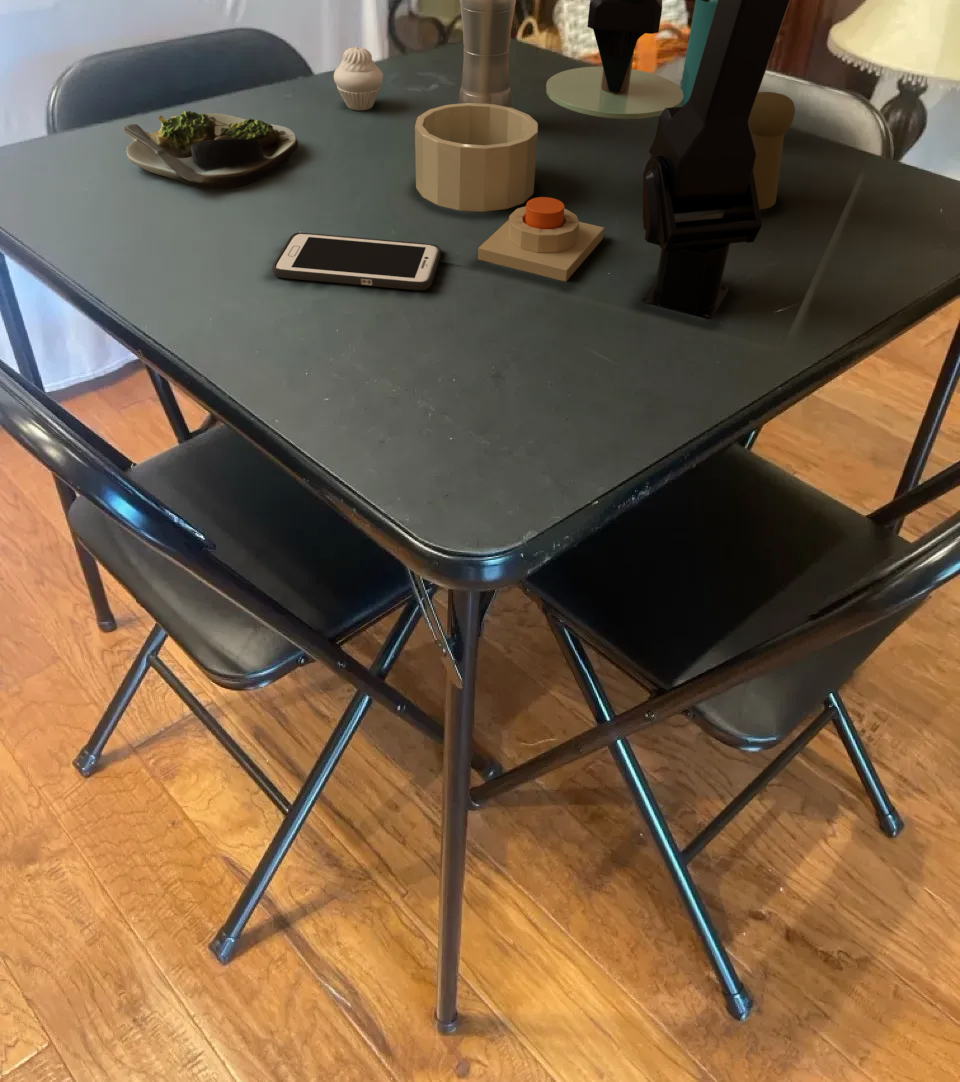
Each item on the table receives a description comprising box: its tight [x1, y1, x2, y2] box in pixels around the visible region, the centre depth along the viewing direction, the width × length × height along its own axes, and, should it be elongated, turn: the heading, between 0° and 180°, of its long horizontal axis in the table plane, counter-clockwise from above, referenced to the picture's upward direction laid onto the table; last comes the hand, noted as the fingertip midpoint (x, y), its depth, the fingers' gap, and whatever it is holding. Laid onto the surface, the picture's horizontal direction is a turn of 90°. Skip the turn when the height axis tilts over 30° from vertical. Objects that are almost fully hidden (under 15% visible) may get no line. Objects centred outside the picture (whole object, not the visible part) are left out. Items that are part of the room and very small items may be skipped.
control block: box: [477, 205, 605, 282], centre depth 88 cm, size 10×9×4 cm
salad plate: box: [123, 110, 299, 190], centre depth 102 cm, size 19×18×5 cm
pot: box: [414, 103, 539, 213], centre depth 97 cm, size 13×13×7 cm
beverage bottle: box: [679, 0, 718, 107], centre depth 106 cm, size 6×7×20 cm
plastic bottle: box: [457, 0, 517, 108], centre depth 106 cm, size 6×7×20 cm
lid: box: [545, 51, 684, 120], centre depth 90 cm, size 14×14×6 cm
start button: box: [525, 196, 566, 229], centre depth 87 cm, size 4×4×2 cm
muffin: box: [333, 45, 384, 111], centre depth 115 cm, size 6×6×7 cm
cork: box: [749, 91, 796, 210], centre depth 96 cm, size 6×6×11 cm
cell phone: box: [272, 232, 442, 291], centre depth 86 cm, size 8×15×1 cm, turn 83°
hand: (615, 86), depth 91 cm, fingers closed on lid, 3 cm apart
